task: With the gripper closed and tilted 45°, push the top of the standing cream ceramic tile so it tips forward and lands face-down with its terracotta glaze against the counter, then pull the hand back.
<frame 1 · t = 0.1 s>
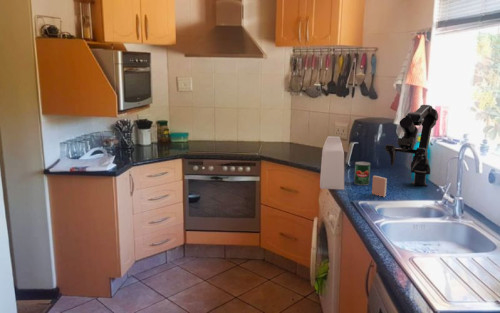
hand: (401, 167, 208), 15 cm above the worktop, tool tilted 35°, fingers open, 9 cm apart
canned tomato: (361, 183, 237), on the worktop
tile: (378, 195, 216), on the worktop
milk: (331, 186, 232), on the worktop
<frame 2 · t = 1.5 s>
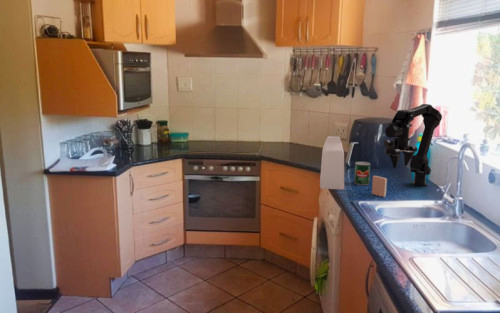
hand: (400, 166, 222), 12 cm above the worktop, tool pointing down, fingers open, 9 cm apart
nothing on the worktop moved.
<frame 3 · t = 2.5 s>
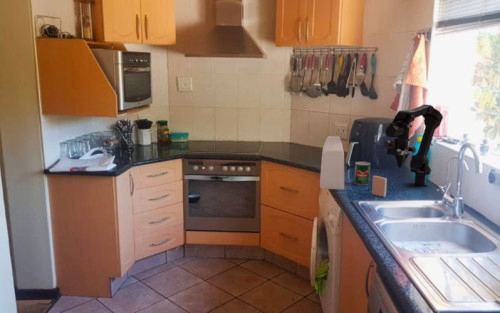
hand: (399, 167, 222), 12 cm above the worktop, tool pointing down, fingers closed
nothing on the worktop moved.
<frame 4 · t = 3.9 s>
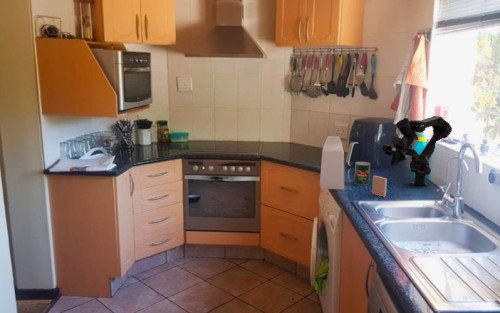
hand: (391, 165, 218), 14 cm above the worktop, tool tilted 45°, fingers closed
nothing on the worktop moved.
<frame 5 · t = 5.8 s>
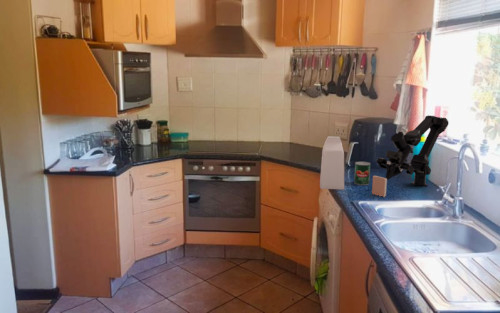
hand: (386, 179, 217), 7 cm above the worktop, tool tilted 45°, fingers closed
nothing on the worktop moved.
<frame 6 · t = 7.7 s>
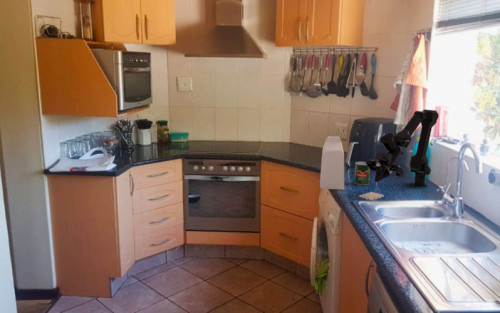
hand: (375, 181, 213), 7 cm above the worktop, tool tilted 45°, fingers closed
tile: (377, 195, 215), on the worktop, tilted 90°
everything else where it was.
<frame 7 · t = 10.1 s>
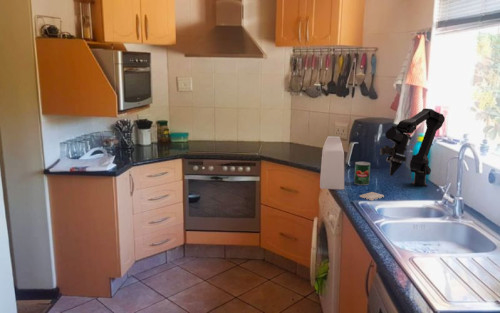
hand: (390, 175, 219), 9 cm above the worktop, tool tilted 25°, fingers closed
nothing on the worktop moved.
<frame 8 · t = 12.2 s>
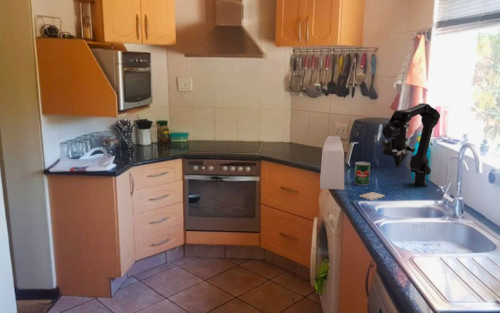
hand: (397, 167, 221), 12 cm above the worktop, tool pointing down, fingers closed
nothing on the worktop moved.
at the end: tile tilted 90°; tile inside the target area (0.4 cm from its centre), on the worktop; the gripper is holding nothing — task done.
